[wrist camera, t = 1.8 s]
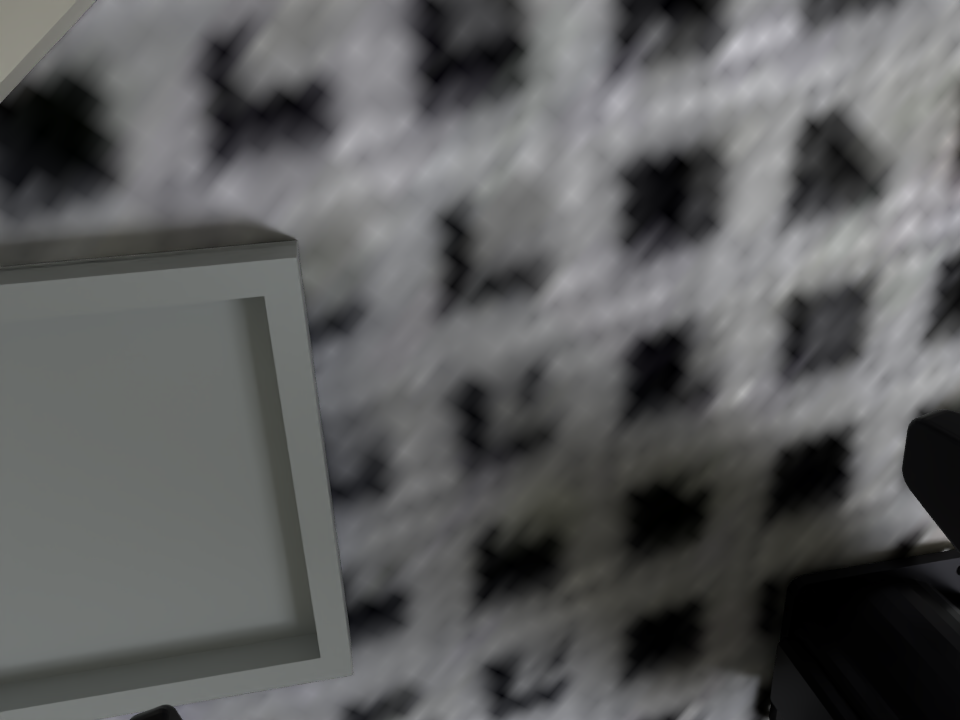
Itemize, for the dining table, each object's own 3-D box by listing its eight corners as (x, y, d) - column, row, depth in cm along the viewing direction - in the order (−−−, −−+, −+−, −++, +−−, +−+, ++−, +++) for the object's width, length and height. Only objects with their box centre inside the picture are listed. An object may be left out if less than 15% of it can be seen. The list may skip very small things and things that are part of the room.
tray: (297, 240, 19) (296, 257, 18) (351, 639, 24) (353, 675, 23) (-287, 292, 17) (-333, 316, 16) (-99, 714, 22) (-123, 757, 21)
